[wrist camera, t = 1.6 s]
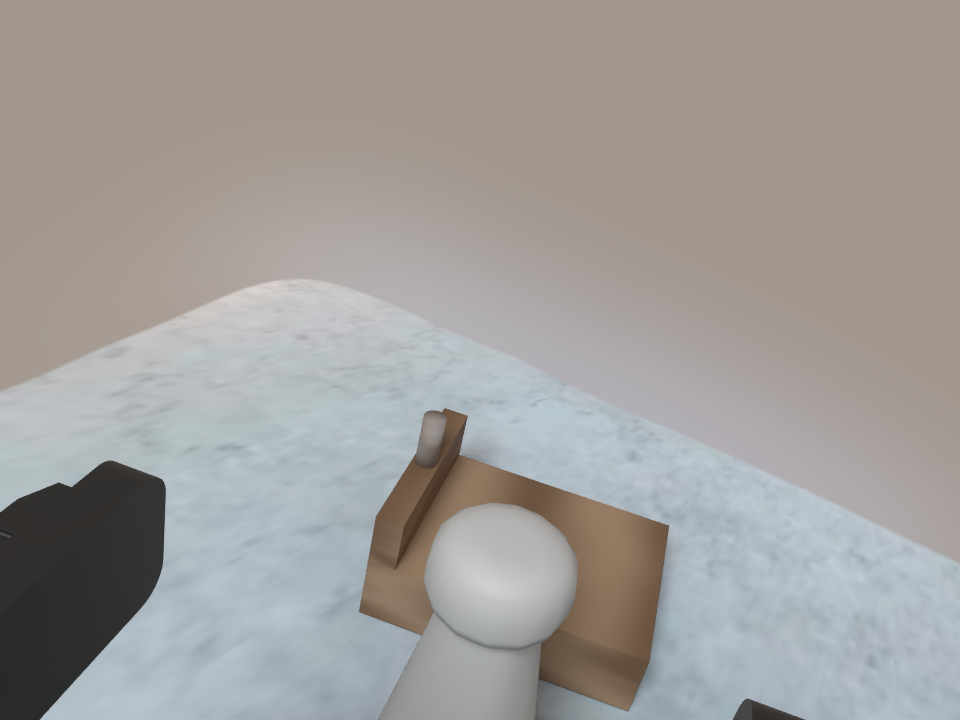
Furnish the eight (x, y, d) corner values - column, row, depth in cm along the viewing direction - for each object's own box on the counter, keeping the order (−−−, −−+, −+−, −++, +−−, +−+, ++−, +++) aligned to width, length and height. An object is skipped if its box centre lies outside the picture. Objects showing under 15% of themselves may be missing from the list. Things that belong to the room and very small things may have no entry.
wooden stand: (651, 571, 44) (700, 446, 40) (628, 711, 36) (686, 573, 33) (426, 493, 46) (453, 366, 42) (358, 612, 38) (384, 469, 34)
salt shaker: (507, 748, 34) (595, 483, 27) (525, 905, 29) (637, 626, 22) (354, 739, 33) (407, 462, 26) (345, 899, 28) (408, 607, 22)
